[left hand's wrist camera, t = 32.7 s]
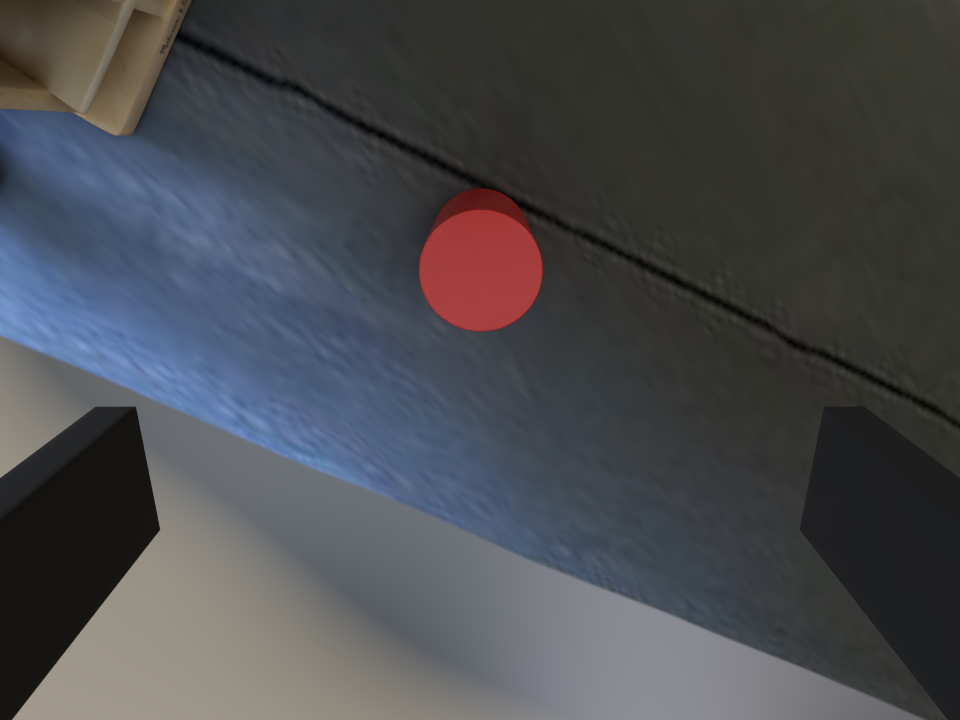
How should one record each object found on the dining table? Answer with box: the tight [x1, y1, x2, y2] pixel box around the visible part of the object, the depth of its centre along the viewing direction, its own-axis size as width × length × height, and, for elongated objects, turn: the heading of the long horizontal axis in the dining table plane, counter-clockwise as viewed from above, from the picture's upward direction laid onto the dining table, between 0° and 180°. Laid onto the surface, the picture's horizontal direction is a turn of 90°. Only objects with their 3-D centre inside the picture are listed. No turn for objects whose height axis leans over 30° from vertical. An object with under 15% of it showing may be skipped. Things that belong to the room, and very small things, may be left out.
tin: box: [419, 188, 543, 331], centre depth 33 cm, size 6×6×9 cm
